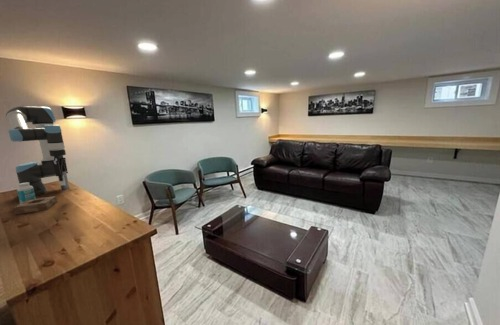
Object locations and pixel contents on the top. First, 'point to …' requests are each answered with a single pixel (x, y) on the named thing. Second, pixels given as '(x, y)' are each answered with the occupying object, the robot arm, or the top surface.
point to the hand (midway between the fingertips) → (64, 184)
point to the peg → (65, 187)
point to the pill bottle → (25, 192)
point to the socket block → (35, 204)
